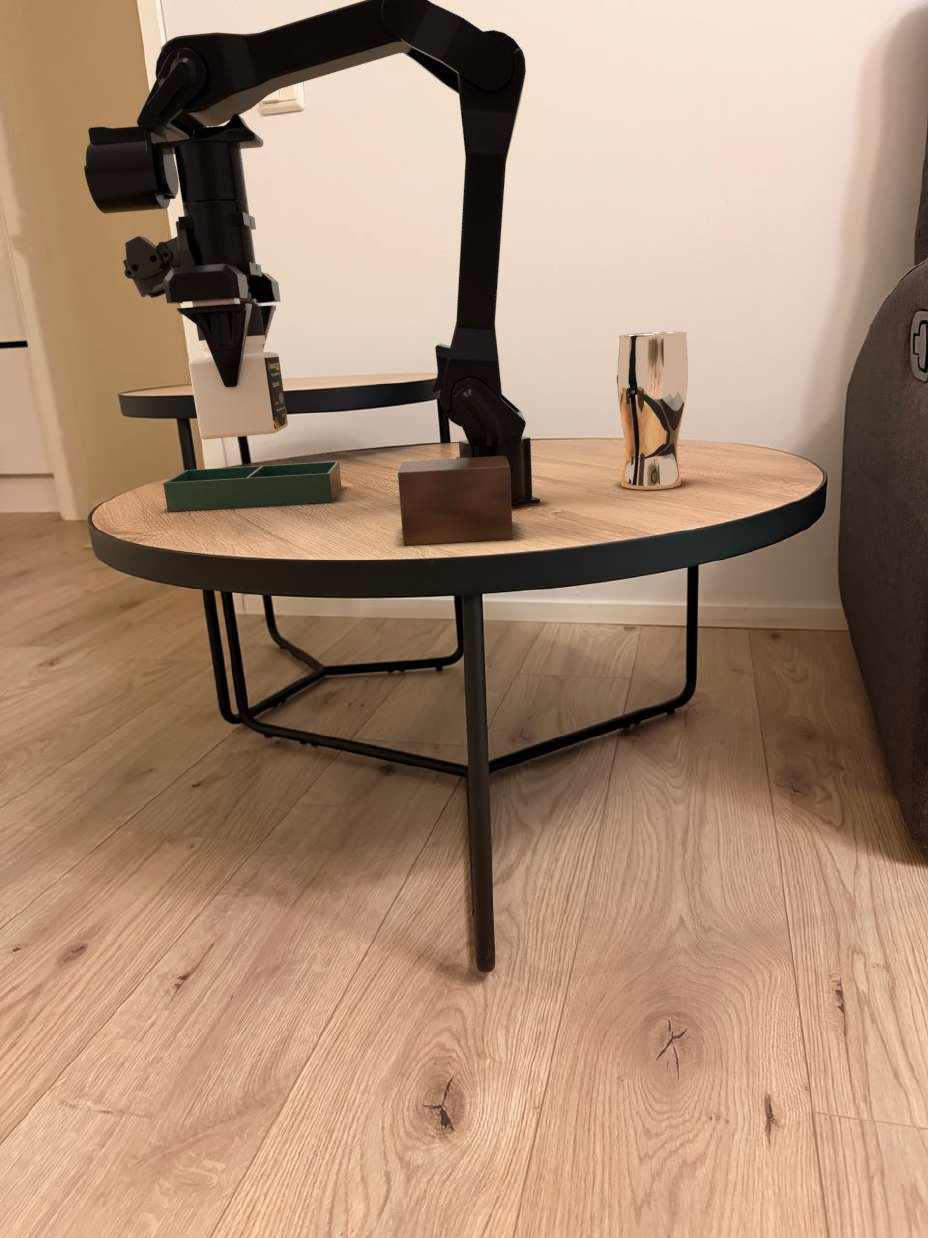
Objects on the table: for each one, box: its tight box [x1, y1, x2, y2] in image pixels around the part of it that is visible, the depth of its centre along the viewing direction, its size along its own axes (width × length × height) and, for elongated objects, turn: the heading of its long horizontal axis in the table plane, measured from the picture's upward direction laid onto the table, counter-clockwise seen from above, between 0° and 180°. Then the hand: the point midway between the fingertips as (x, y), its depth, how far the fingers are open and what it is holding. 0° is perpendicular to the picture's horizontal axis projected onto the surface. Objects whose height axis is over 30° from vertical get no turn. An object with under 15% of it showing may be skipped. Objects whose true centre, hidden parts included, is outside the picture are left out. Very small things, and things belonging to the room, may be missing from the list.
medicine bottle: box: [188, 301, 289, 440], centre depth 87 cm, size 7×7×12 cm
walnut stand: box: [397, 456, 514, 546], centre depth 77 cm, size 9×6×6 cm, turn 91°
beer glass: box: [616, 330, 689, 491], centre depth 93 cm, size 7×7×15 cm
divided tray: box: [163, 461, 342, 513], centre depth 99 cm, size 17×9×3 cm, turn 91°
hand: (240, 384), depth 87 cm, fingers closed on medicine bottle, 7 cm apart
